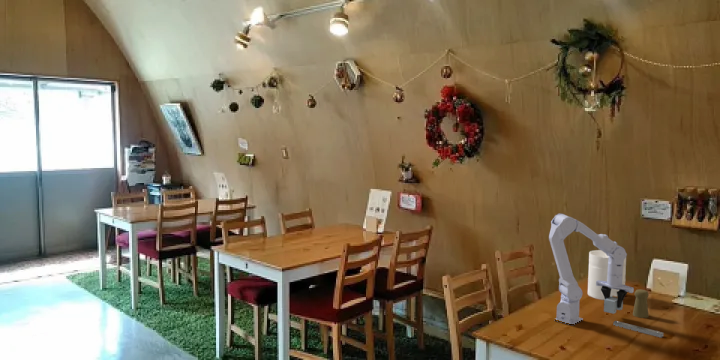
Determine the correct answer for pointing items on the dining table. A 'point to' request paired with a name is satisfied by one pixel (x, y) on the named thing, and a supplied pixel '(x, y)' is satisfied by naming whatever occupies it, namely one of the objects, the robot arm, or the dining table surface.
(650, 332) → the rail
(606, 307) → the block
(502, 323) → the dining table surface
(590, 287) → the canister
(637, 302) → the cork
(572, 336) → the dining table surface
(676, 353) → the dining table surface
